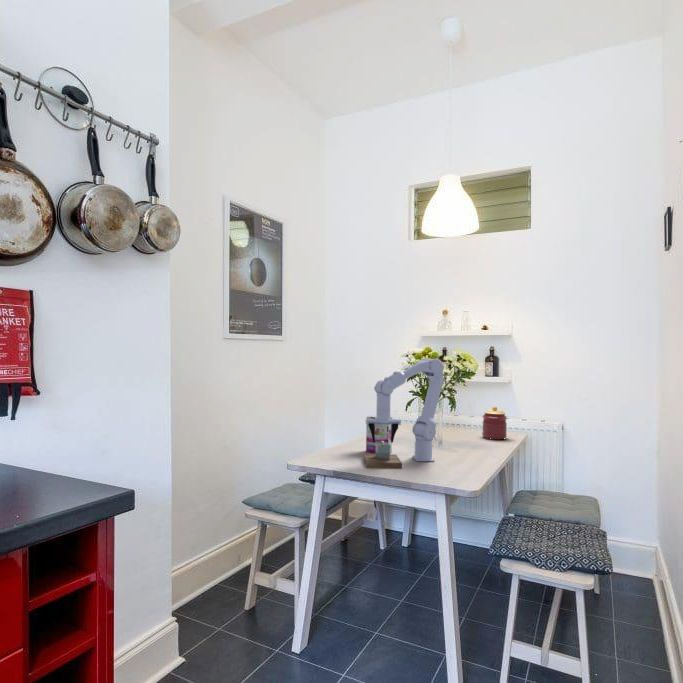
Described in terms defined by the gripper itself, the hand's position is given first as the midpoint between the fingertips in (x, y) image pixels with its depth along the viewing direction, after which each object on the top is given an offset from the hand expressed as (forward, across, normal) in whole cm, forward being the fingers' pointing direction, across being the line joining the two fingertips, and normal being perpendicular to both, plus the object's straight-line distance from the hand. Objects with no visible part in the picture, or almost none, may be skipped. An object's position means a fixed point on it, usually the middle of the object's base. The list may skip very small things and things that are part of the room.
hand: (382, 441), depth 203 cm
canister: (+9, +70, +64) cm, 95 cm away
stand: (+9, 0, 0) cm, 9 cm away
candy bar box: (+9, +1, +22) cm, 24 cm away
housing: (+7, 0, 0) cm, 7 cm away
